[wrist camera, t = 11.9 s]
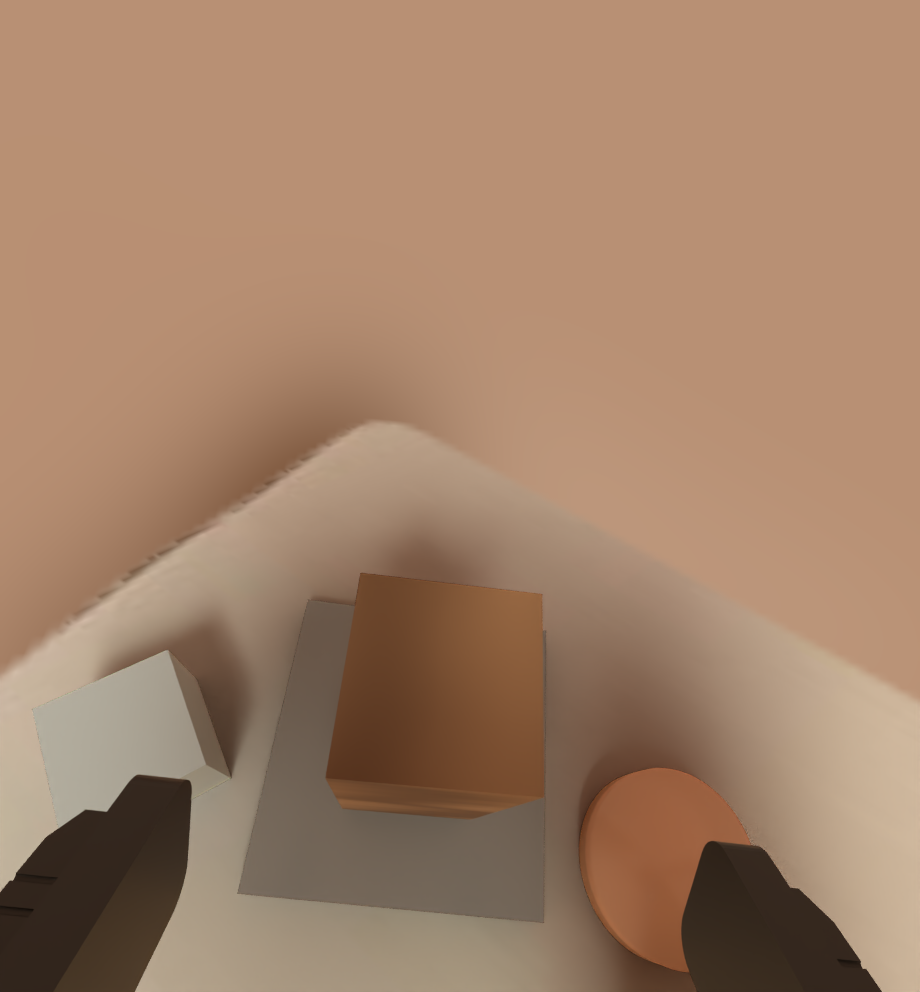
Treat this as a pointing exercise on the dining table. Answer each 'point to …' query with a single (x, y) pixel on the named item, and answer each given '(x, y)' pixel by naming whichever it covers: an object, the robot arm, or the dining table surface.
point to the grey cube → (127, 736)
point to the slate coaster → (377, 817)
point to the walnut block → (440, 700)
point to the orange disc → (650, 856)
